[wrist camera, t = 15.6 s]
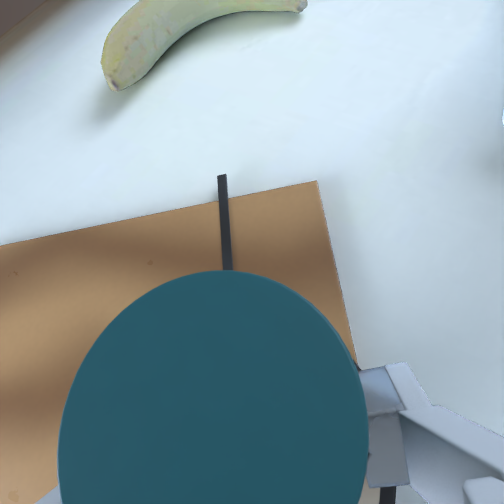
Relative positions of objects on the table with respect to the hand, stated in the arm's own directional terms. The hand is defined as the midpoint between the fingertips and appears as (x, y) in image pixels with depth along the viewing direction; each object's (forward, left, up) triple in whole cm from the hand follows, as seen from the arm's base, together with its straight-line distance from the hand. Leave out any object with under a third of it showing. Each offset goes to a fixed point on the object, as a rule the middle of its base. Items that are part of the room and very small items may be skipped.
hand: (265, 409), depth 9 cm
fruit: (+26, +3, -7) cm, 27 cm away
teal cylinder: (-1, 0, -6) cm, 6 cm away
